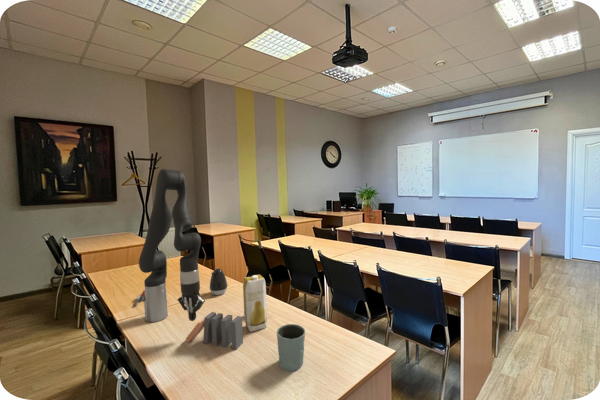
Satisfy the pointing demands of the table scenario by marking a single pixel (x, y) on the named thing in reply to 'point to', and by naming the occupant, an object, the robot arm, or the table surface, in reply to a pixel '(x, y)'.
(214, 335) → the domino
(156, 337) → the table surface
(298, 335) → the grey green cup
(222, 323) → the domino
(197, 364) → the table surface
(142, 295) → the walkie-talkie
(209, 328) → the domino
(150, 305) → the robot arm
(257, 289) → the juice carton
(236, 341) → the domino
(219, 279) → the black rounded cone
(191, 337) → the domino
